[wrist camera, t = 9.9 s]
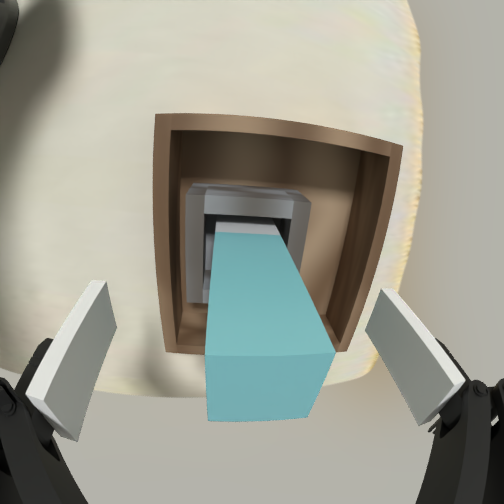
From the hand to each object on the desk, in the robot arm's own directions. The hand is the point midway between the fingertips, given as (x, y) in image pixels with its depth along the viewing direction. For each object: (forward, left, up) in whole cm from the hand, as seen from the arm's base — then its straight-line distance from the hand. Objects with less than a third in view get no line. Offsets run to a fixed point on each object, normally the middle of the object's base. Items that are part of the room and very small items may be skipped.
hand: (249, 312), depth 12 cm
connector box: (+2, 0, -11) cm, 11 cm away
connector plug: (0, 0, -10) cm, 10 cm away
